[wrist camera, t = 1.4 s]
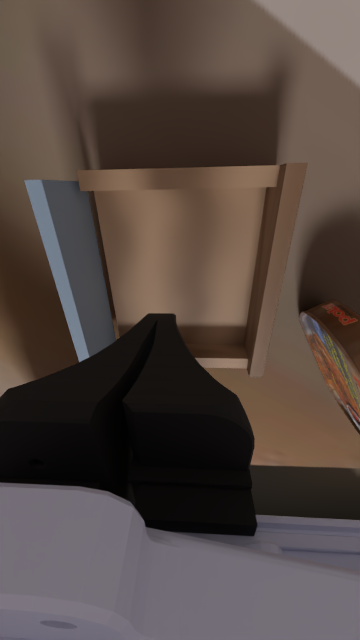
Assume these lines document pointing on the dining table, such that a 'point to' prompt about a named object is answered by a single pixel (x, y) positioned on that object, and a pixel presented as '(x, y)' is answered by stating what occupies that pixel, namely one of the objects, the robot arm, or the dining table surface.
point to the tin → (337, 352)
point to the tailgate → (74, 261)
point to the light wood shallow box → (200, 251)
